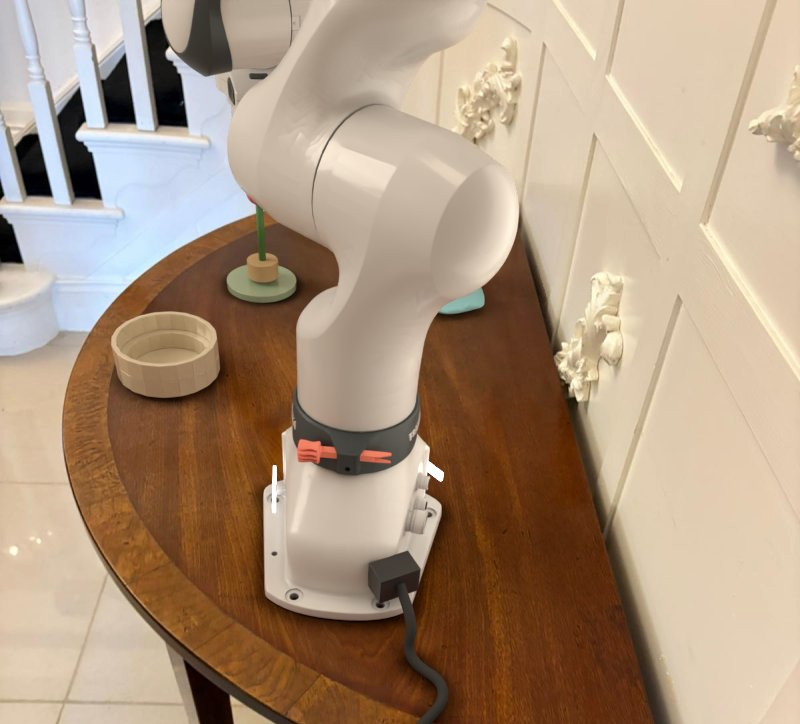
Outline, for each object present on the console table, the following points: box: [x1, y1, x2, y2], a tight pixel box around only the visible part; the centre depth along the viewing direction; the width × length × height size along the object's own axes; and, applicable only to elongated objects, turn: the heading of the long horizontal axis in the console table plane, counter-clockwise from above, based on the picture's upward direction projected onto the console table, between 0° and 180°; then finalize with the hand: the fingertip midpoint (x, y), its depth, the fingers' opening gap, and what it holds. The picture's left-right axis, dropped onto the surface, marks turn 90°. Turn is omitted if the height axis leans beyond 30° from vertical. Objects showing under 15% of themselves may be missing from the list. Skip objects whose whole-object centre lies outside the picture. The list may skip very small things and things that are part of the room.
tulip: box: [245, 193, 279, 282], centre depth 108 cm, size 4×4×15 cm
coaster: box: [226, 264, 297, 304], centre depth 114 cm, size 10×10×1 cm
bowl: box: [110, 310, 221, 399], centre depth 96 cm, size 12×12×5 cm
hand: (258, 187), depth 105 cm, fingers closed on tulip, 3 cm apart
